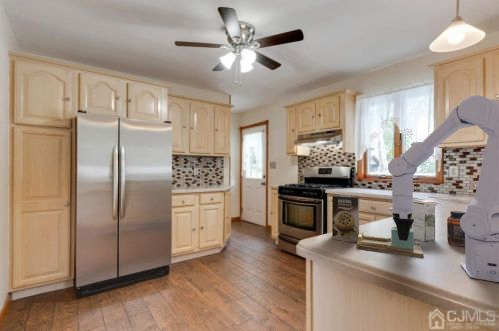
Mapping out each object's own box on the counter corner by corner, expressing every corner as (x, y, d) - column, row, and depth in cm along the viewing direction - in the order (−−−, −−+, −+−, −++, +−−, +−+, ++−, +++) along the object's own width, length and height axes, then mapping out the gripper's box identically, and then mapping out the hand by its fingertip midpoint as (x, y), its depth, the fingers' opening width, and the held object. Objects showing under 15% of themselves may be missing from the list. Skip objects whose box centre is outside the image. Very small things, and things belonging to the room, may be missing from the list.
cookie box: (331, 239, 93) (331, 195, 93) (334, 235, 99) (334, 194, 99) (358, 242, 89) (358, 197, 89) (359, 238, 95) (359, 195, 95)
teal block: (413, 249, 78) (413, 231, 78) (391, 246, 81) (391, 229, 81) (412, 245, 82) (412, 228, 82) (391, 242, 85) (391, 226, 85)
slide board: (423, 257, 74) (423, 245, 74) (357, 248, 83) (357, 237, 83) (419, 246, 85) (419, 236, 85) (360, 239, 93) (360, 229, 93)
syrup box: (420, 236, 97) (419, 198, 97) (436, 240, 91) (435, 200, 92) (409, 237, 95) (409, 199, 95) (425, 242, 89) (424, 201, 90)
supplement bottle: (474, 247, 83) (473, 213, 83) (453, 246, 84) (453, 212, 84) (462, 242, 89) (462, 210, 89) (443, 241, 90) (443, 209, 90)
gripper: (388, 192, 90) (388, 230, 90) (388, 196, 78) (388, 241, 77) (411, 193, 87) (412, 233, 87) (415, 198, 74) (416, 244, 74)
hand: (402, 237), depth 82 cm, fingers open, 7 cm apart
